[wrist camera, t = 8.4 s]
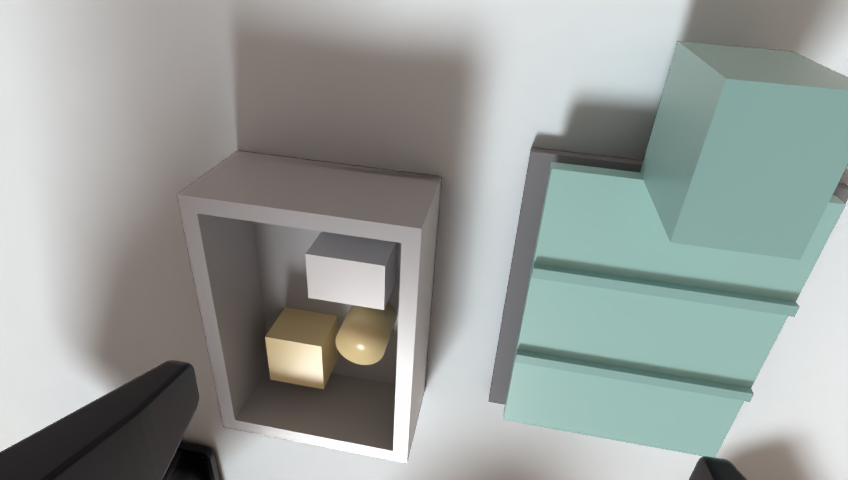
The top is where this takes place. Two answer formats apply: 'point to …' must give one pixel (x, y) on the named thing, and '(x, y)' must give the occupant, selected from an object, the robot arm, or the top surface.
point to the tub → (315, 297)
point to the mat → (526, 247)
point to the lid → (682, 254)
